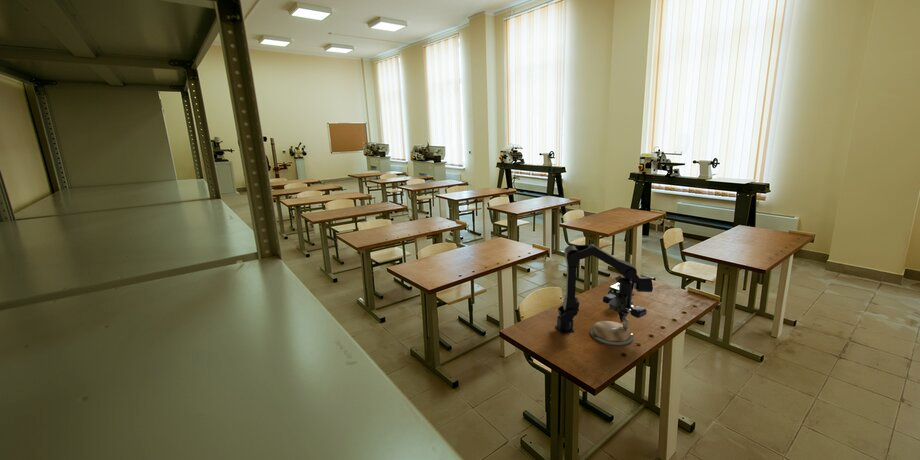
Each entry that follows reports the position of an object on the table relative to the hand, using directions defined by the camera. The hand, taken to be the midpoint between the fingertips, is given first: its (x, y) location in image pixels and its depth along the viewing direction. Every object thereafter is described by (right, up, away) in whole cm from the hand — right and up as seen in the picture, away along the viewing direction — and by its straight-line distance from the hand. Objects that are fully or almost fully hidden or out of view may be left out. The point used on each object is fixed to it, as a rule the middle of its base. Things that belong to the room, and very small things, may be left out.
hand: (621, 321), depth 175 cm
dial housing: (-6, -5, -2) cm, 8 cm away
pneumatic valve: (+8, +2, +25) cm, 26 cm away
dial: (-6, -4, -3) cm, 8 cm away
